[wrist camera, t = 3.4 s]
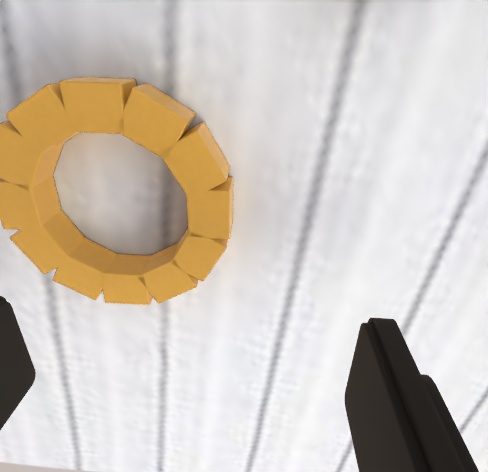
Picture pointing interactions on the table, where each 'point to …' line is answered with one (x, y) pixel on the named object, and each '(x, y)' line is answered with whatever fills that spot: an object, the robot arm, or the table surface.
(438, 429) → the robot arm
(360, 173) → the table surface
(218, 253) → the ring
